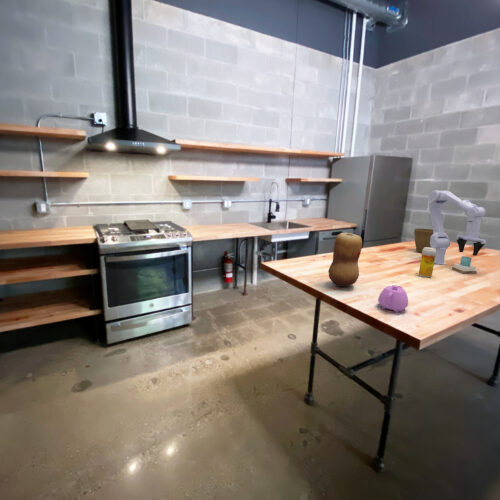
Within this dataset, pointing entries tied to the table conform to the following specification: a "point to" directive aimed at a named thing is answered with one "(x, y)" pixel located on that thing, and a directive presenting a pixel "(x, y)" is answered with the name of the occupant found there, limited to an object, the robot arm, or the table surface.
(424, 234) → the plant pot
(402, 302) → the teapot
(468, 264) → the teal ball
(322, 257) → the table surface
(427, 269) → the glass of beer
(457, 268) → the off-white slab
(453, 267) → the walnut slab
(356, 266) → the butternut squash
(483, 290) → the table surface
